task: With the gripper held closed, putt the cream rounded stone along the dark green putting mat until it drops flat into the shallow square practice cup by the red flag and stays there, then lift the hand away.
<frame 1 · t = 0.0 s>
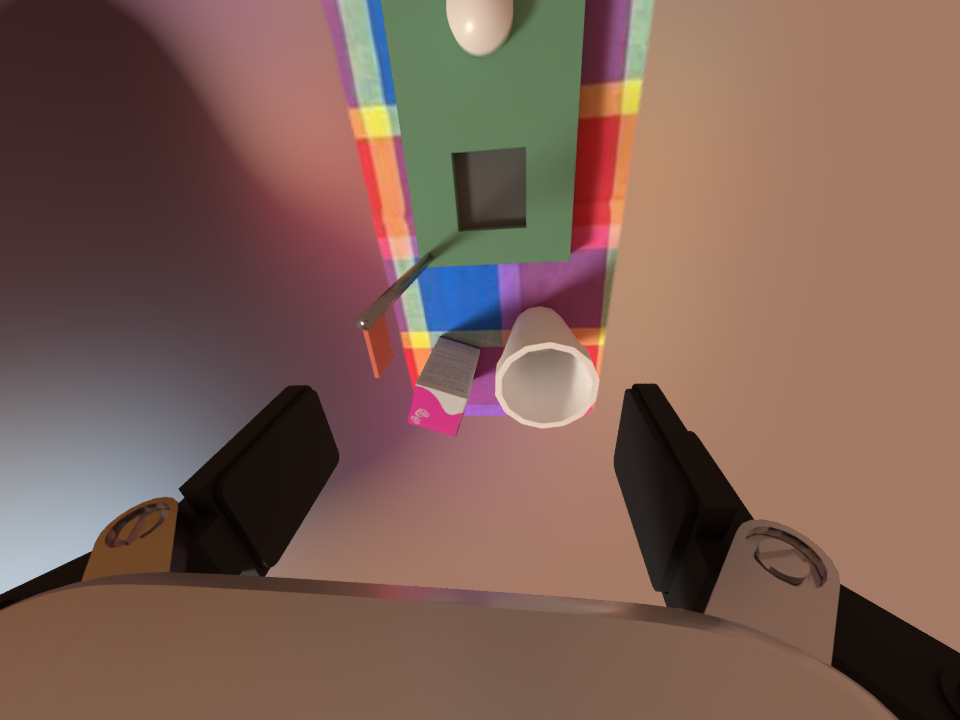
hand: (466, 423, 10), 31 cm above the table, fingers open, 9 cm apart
putting mat: (488, 120, 32), on the table
foam cup: (538, 329, 42), on the table
cream rounded stone: (481, 17, 27), point 2 cm above the table, touching putting mat
supplement box: (455, 358, 46), on the table
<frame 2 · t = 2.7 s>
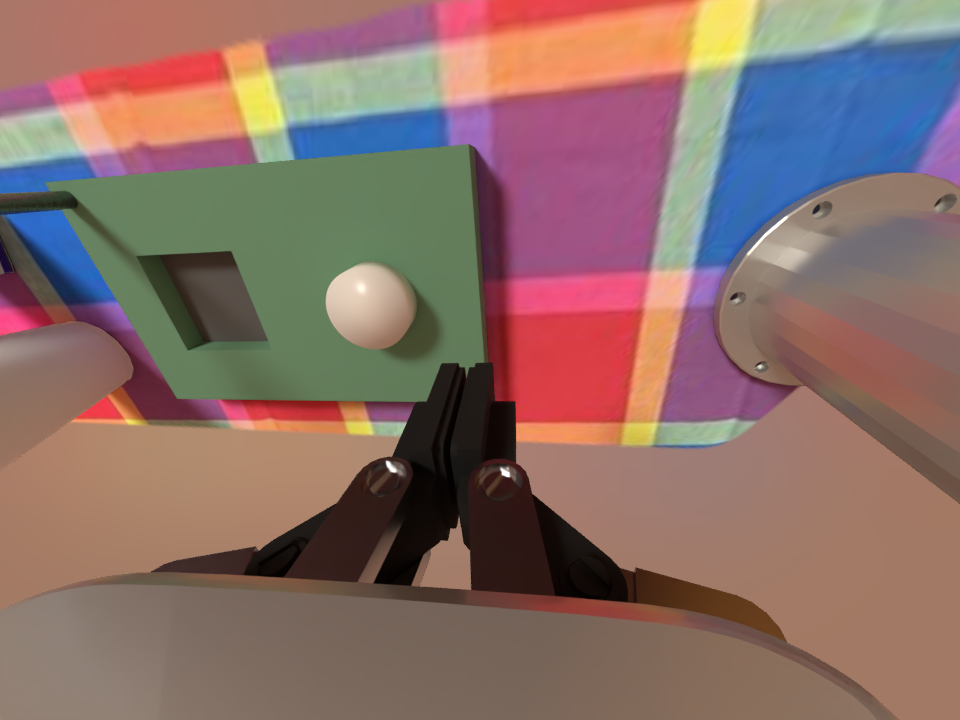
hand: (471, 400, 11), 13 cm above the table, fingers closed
putting mat: (307, 291, 25), on the table
foam cup: (99, 352, 30), on the table
cream rounded stone: (379, 300, 22), point 3 cm above the table, touching putting mat
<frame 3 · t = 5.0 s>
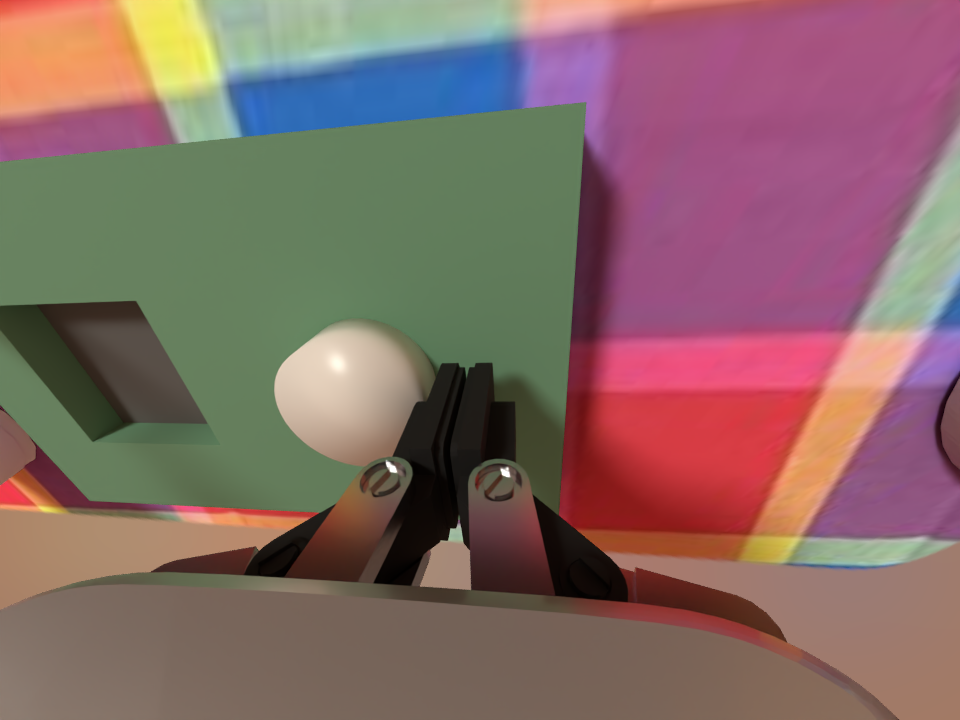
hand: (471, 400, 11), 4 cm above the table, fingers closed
putting mat: (276, 352, 16), on the table
cream rounded stone: (372, 379, 13), point 3 cm above the table, touching putting mat
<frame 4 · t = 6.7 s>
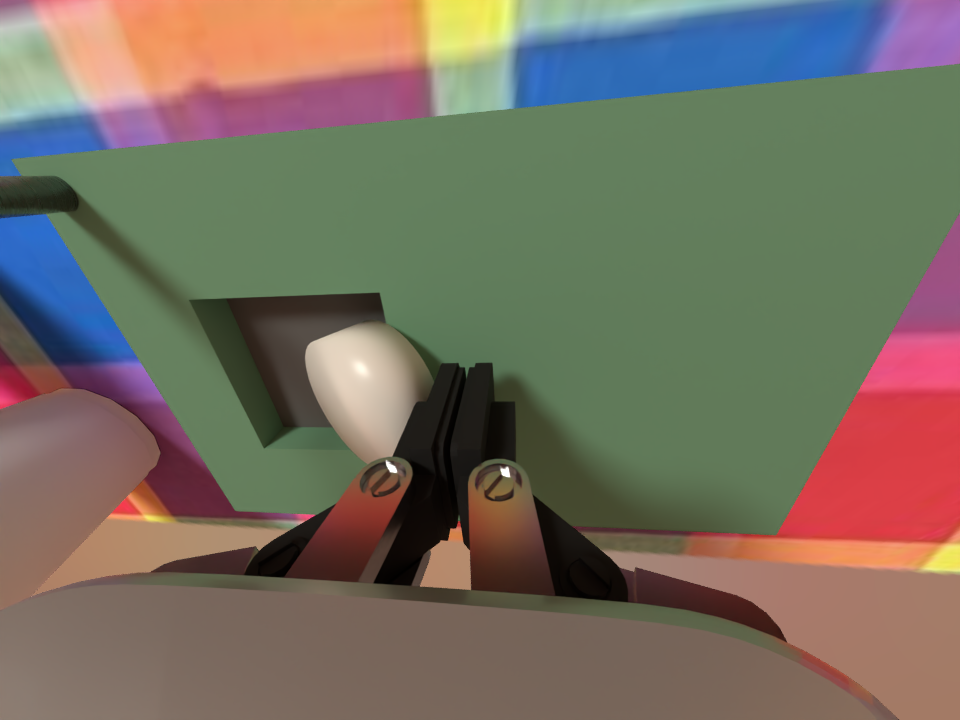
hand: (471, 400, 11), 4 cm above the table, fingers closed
putting mat: (472, 350, 15), on the table
foam cup: (108, 430, 20), on the table
cream rounded stone: (393, 381, 13), point 2 cm above the table, tilted 33°, touching gripper, putting mat
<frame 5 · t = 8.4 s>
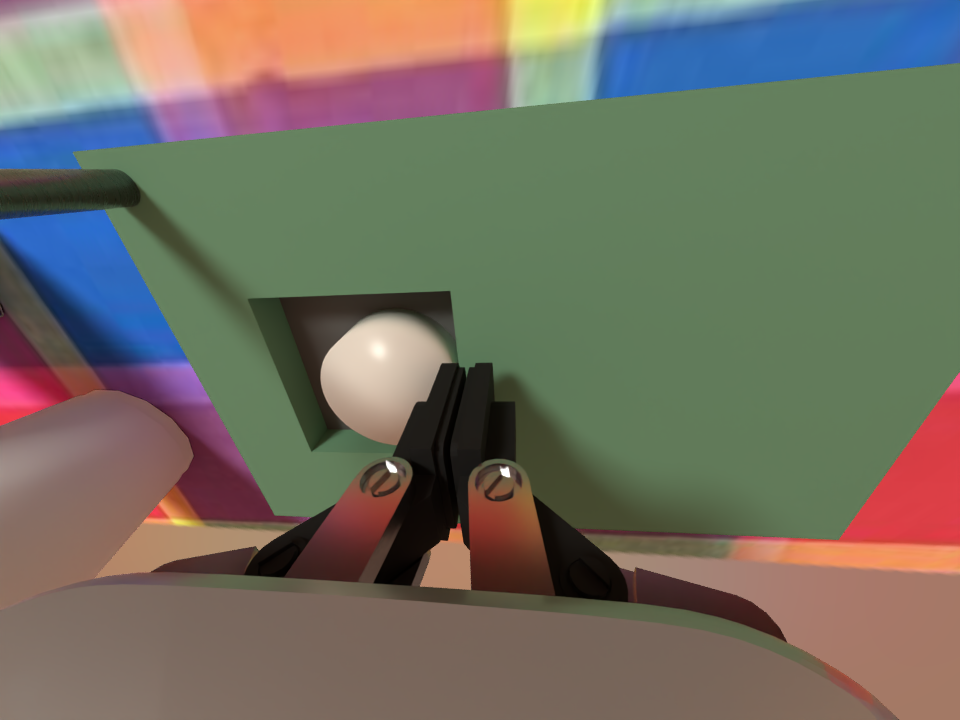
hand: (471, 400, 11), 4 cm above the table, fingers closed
putting mat: (528, 351, 14), on the table
foam cup: (140, 432, 19), on the table
cream rounded stone: (404, 365, 14), point 1 cm above the table, touching putting mat
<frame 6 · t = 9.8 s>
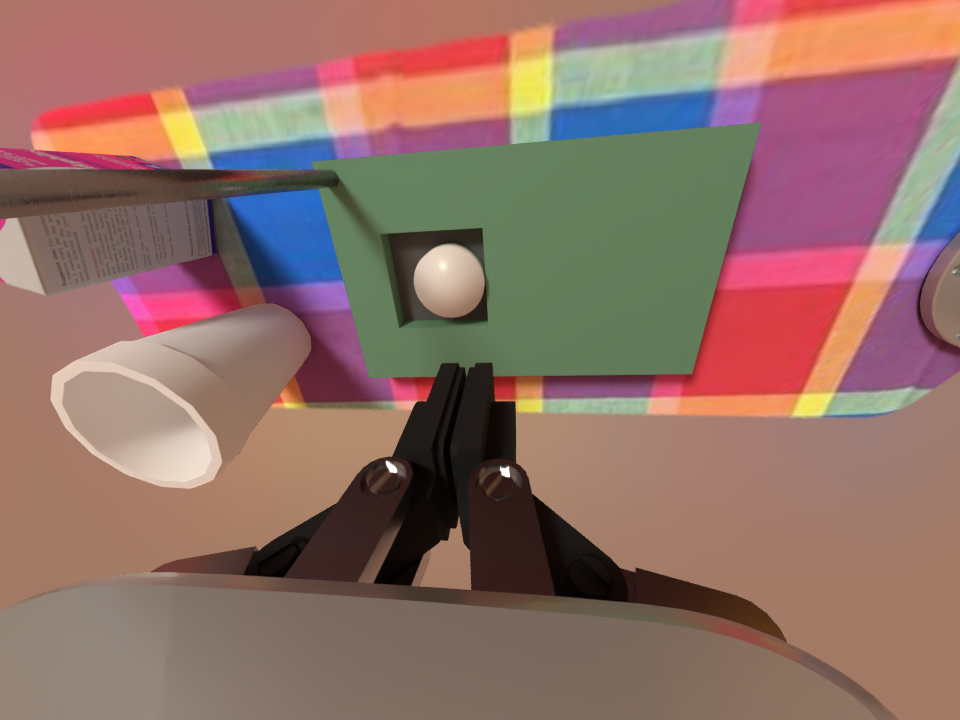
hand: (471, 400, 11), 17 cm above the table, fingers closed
putting mat: (520, 269, 26), on the table
foam cup: (278, 334, 31), on the table
cream rounded stone: (453, 276, 26), point 1 cm above the table, touching putting mat
supplement box: (179, 206, 26), on the table
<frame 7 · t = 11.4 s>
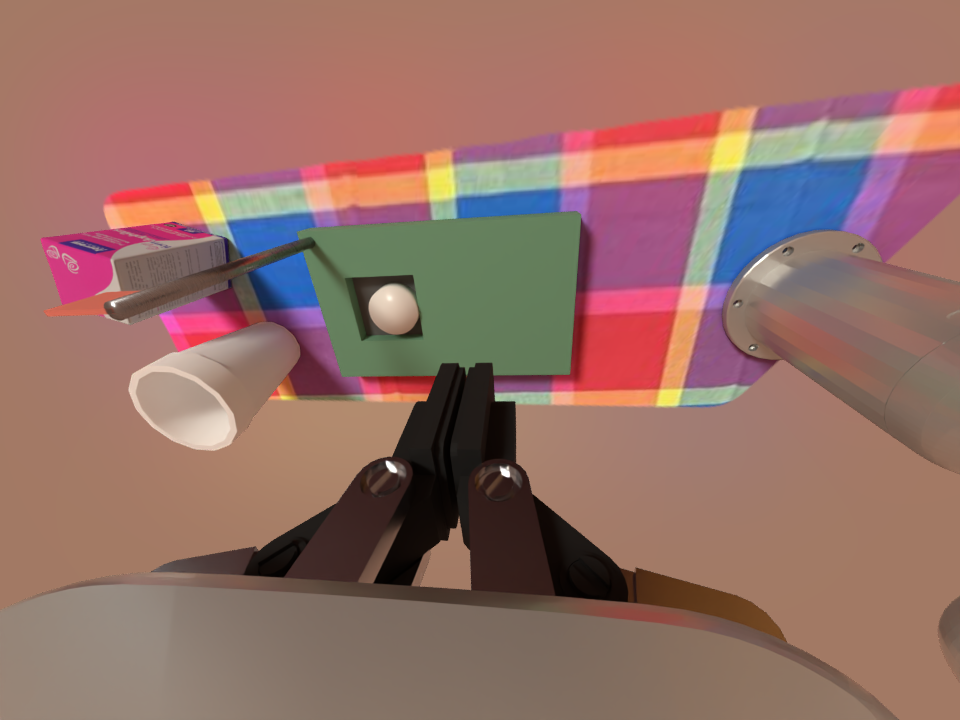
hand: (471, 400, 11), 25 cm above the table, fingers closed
putting mat: (447, 299, 36), on the table
foam cup: (276, 344, 41), on the table
cream rounded stone: (398, 305, 36), point 1 cm above the table, touching putting mat
supplement box: (205, 254, 37), on the table
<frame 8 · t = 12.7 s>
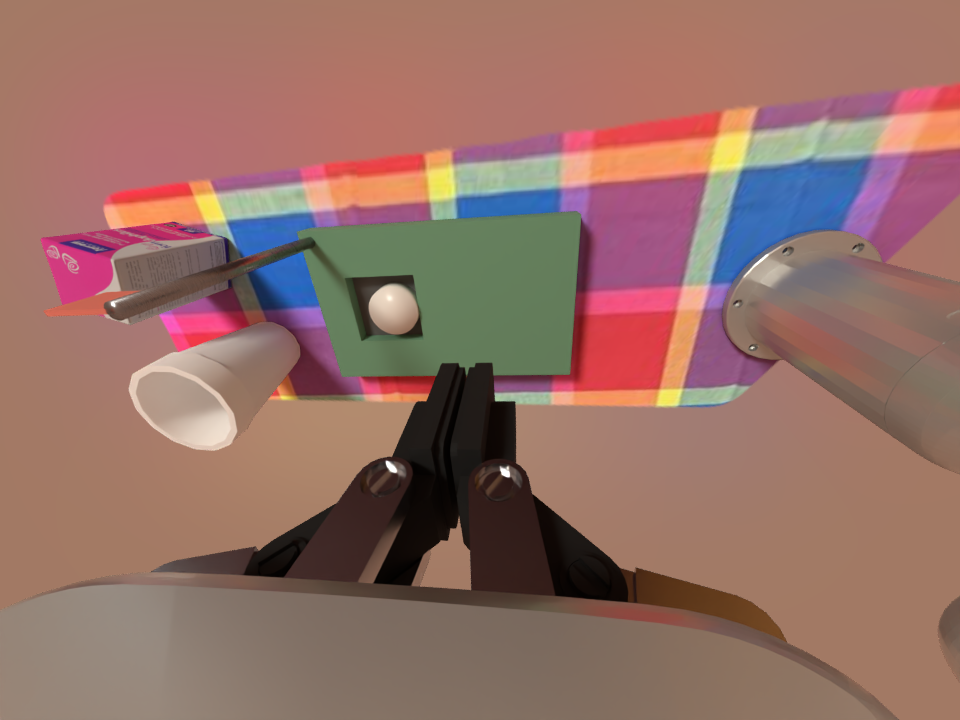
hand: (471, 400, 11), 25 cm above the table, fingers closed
putting mat: (447, 299, 36), on the table
foam cup: (276, 344, 41), on the table
cream rounded stone: (398, 305, 36), point 1 cm above the table, touching putting mat
supplement box: (205, 254, 37), on the table
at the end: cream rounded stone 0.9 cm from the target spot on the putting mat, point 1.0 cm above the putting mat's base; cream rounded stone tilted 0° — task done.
